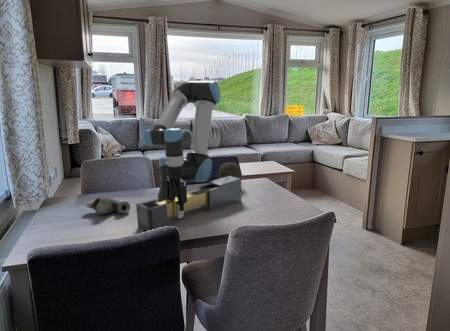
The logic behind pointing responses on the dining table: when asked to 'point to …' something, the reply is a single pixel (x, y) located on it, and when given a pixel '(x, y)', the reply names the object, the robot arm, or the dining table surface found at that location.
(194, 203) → the bar
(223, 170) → the cantaloupe
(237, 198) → the sleeve
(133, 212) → the dining table surface
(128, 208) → the pipe
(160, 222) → the socket
